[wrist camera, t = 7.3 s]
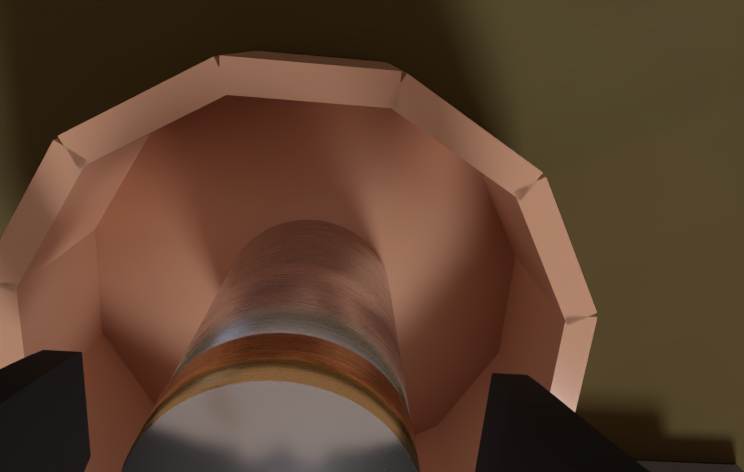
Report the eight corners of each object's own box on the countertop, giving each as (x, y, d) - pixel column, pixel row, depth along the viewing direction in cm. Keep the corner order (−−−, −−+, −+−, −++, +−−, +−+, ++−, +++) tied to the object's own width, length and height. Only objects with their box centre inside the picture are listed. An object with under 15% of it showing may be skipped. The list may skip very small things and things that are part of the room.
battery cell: (229, 368, 15) (129, 632, 8) (222, 216, 14) (96, 381, 7) (387, 370, 15) (416, 630, 8) (394, 220, 14) (435, 385, 7)
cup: (98, 456, 16) (22, 583, 12) (64, 34, 13) (-56, 31, 9) (491, 471, 17) (532, 596, 13) (563, 77, 13) (649, 92, 10)
